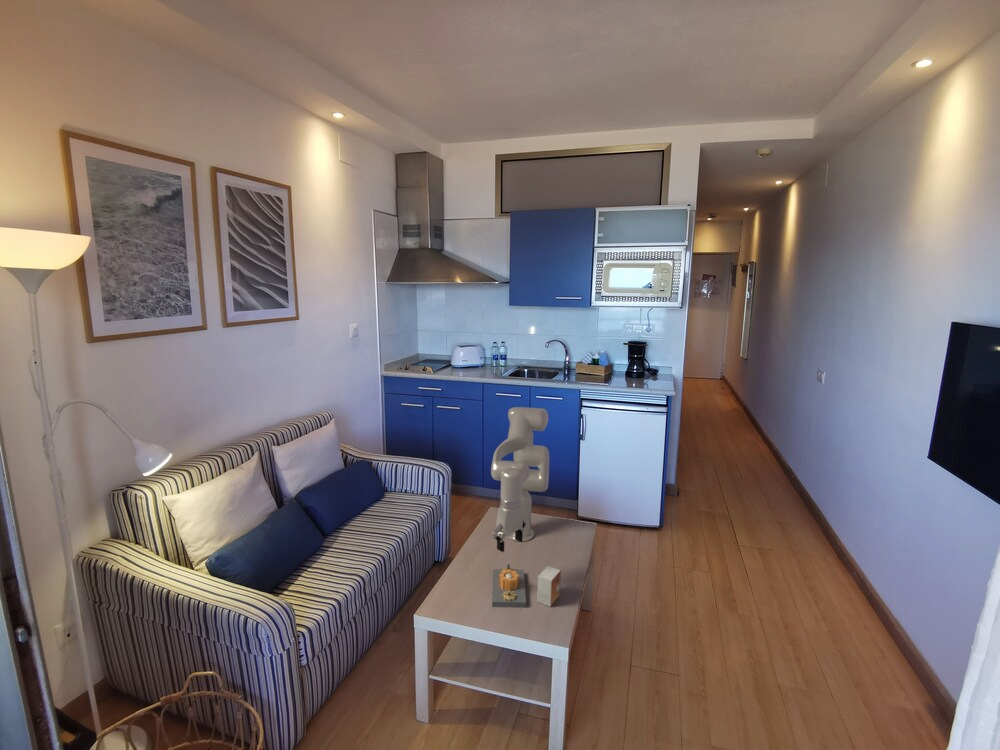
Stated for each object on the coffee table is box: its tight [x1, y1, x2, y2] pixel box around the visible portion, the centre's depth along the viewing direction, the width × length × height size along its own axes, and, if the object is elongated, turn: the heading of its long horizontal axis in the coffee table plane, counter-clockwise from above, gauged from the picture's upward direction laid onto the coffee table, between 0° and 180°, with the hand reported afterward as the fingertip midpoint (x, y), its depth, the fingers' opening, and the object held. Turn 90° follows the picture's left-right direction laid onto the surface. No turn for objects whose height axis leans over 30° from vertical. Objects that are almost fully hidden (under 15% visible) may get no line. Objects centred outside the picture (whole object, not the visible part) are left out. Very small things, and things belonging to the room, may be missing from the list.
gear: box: [499, 568, 519, 590], centre depth 184 cm, size 7×7×4 cm
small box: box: [536, 565, 561, 608], centre depth 179 cm, size 8×6×10 cm
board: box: [491, 563, 527, 608], centre depth 184 cm, size 20×12×6 cm, turn 0°
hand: (509, 545), depth 181 cm, fingers open, 9 cm apart
